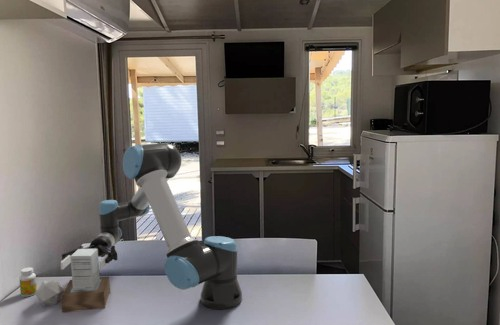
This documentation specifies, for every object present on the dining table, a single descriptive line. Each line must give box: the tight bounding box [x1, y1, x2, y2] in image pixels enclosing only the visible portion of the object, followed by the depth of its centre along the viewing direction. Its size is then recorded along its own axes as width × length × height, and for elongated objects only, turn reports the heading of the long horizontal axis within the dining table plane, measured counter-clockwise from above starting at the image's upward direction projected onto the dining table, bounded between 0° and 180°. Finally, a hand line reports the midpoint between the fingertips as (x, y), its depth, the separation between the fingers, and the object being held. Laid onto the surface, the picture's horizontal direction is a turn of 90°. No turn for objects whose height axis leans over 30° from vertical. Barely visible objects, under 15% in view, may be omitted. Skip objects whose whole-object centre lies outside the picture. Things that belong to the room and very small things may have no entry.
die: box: [34, 280, 65, 305], centre depth 140 cm, size 8×9×10 cm
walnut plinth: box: [60, 276, 111, 313], centre depth 141 cm, size 14×13×6 cm
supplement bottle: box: [18, 266, 38, 298], centre depth 147 cm, size 5×5×10 cm
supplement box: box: [70, 249, 101, 290], centre depth 140 cm, size 7×7×13 cm
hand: (81, 265), depth 136 cm, fingers open, 13 cm apart
